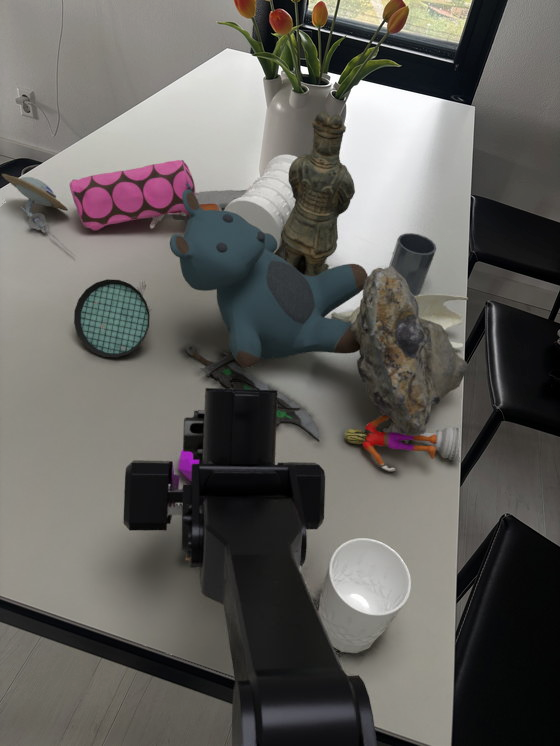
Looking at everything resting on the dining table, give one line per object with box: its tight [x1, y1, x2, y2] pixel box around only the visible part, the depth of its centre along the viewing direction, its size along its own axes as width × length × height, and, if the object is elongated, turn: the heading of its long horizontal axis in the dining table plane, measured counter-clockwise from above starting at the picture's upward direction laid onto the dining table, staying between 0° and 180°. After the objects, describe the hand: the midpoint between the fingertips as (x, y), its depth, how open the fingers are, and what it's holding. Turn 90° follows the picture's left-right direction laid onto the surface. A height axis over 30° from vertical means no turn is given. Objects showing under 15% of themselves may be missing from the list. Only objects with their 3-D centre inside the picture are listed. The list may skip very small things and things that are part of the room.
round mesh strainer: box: [73, 278, 153, 358], centre depth 91 cm, size 11×12×6 cm
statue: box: [281, 111, 356, 277], centre depth 100 cm, size 11×9×30 cm
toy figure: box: [344, 414, 437, 473], centre depth 81 cm, size 8×12×3 cm
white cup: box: [317, 537, 412, 654], centre depth 62 cm, size 8×8×10 cm
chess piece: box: [382, 422, 462, 461], centre depth 84 cm, size 4×4×10 cm
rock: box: [350, 266, 469, 436], centre depth 81 cm, size 25×21×15 cm
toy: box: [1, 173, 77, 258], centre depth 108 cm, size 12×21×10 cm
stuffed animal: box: [169, 190, 368, 369], centre depth 84 cm, size 23×18×28 cm
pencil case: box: [69, 159, 196, 231], centre depth 110 cm, size 21×10×10 cm
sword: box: [185, 344, 320, 441], centre depth 88 cm, size 1×25×7 cm
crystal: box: [177, 449, 199, 482], centre depth 75 cm, size 5×5×5 cm
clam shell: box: [330, 293, 469, 349], centre depth 101 cm, size 22×12×12 cm, turn 106°
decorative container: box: [224, 153, 299, 254], centre depth 113 cm, size 12×12×18 cm
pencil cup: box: [388, 232, 437, 296], centre depth 110 cm, size 7×7×9 cm
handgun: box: [170, 189, 247, 222], centre depth 120 cm, size 4×26×15 cm
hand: (219, 481), depth 67 cm, fingers open, 9 cm apart
